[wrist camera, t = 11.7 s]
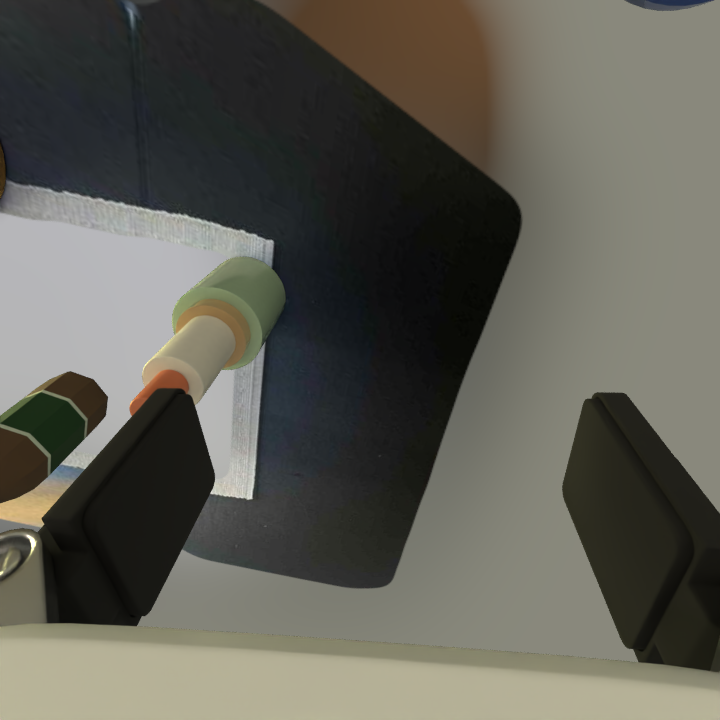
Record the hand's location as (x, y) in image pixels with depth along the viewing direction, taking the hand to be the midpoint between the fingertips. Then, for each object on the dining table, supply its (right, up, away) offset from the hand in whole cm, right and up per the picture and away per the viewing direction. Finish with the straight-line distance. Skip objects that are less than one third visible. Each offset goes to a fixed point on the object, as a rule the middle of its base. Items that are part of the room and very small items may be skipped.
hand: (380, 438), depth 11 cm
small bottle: (-13, +4, +26) cm, 29 cm away
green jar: (-12, +9, +35) cm, 38 cm away
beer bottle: (-36, -2, +44) cm, 56 cm away
